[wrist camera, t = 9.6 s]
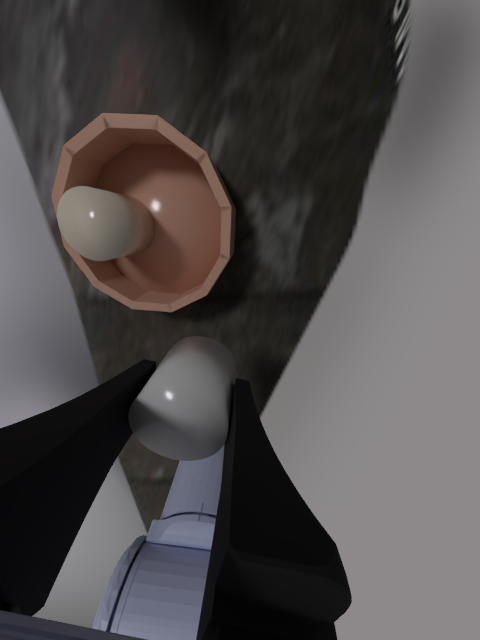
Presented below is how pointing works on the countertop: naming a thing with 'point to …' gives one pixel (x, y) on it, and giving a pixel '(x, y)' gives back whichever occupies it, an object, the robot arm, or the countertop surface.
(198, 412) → the pebble
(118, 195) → the pebble
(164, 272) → the bowl
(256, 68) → the countertop surface
